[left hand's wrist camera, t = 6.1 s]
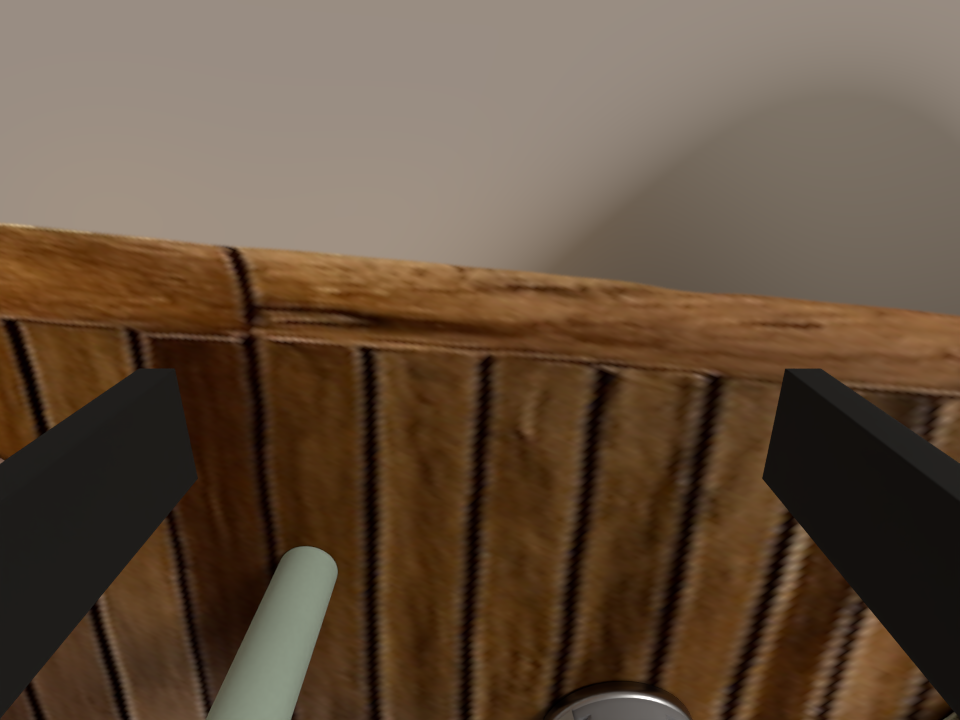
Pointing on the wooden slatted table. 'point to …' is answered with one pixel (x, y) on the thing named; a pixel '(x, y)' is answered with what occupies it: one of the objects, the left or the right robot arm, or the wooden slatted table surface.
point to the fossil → (952, 717)
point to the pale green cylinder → (279, 640)
